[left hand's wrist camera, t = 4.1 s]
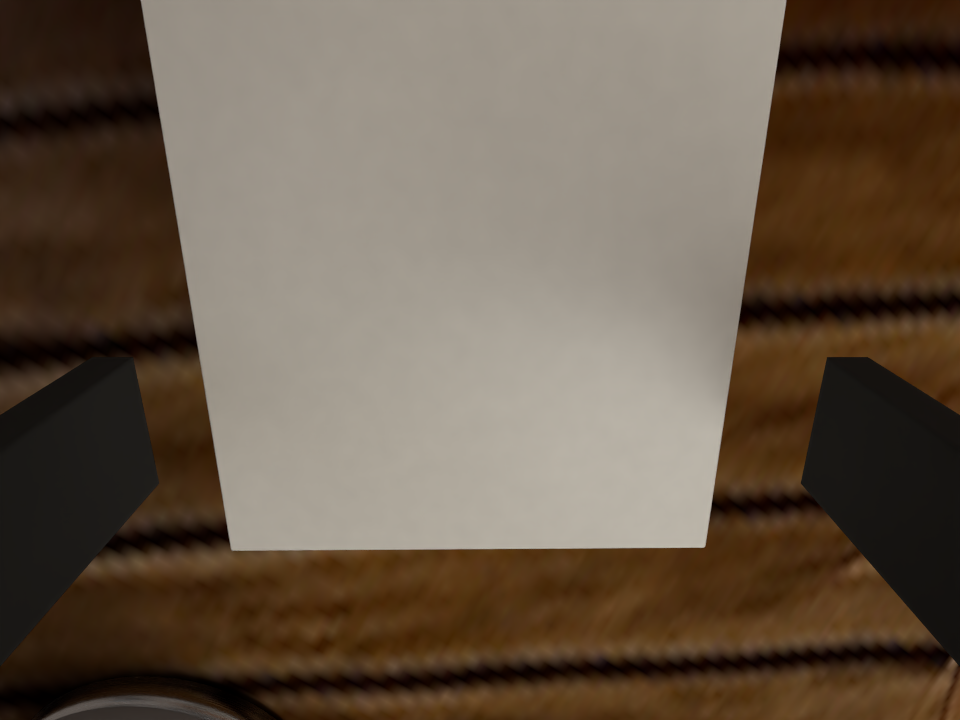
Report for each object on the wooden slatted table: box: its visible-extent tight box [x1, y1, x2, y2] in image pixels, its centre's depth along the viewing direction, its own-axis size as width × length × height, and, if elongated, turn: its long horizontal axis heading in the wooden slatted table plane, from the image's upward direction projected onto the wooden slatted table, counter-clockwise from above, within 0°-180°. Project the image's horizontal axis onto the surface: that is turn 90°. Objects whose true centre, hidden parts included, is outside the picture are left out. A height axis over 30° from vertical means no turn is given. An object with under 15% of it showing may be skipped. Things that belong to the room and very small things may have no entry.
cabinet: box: [141, 0, 786, 551], centre depth 16 cm, size 21×11×10 cm, turn 0°
